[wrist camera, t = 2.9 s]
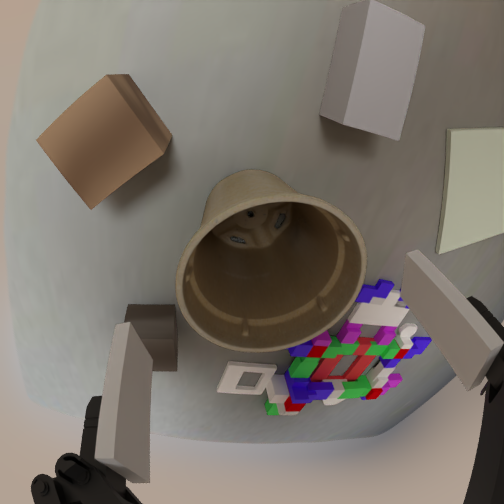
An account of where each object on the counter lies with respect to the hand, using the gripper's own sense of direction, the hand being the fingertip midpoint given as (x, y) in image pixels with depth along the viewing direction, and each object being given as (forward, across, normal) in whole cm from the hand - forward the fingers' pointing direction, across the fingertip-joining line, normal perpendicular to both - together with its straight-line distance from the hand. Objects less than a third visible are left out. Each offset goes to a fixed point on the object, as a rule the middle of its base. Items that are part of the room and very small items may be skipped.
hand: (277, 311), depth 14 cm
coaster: (+10, +23, -2) cm, 25 cm away
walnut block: (+10, -7, +8) cm, 15 cm away
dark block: (+10, -10, -8) cm, 16 cm away
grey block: (+10, +9, +9) cm, 17 cm away
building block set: (+11, +8, -19) cm, 23 cm away
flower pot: (+10, 0, 0) cm, 10 cm away
